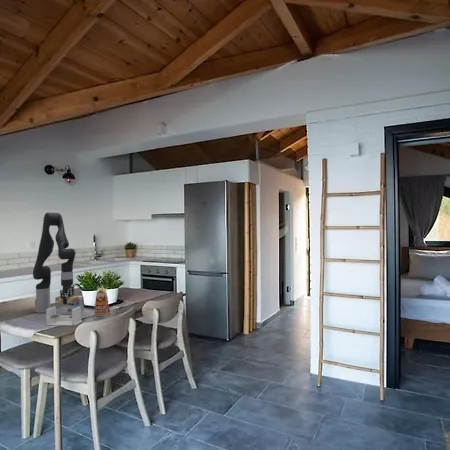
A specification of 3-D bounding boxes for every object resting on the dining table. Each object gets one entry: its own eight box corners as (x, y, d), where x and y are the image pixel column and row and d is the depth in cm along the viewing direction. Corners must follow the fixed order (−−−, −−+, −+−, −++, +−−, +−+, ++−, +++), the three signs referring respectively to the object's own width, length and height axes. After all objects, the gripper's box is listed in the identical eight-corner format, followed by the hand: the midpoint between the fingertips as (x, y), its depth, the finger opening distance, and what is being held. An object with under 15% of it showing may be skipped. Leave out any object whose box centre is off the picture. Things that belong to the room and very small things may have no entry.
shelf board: (55, 302, 237) (55, 297, 237) (59, 300, 242) (59, 296, 242) (75, 302, 235) (75, 298, 235) (79, 301, 240) (79, 296, 240)
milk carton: (97, 312, 254) (96, 285, 254) (110, 312, 255) (109, 284, 254) (93, 316, 245) (93, 287, 244) (107, 315, 245) (106, 287, 245)
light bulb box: (75, 313, 252) (75, 298, 252) (66, 313, 253) (66, 298, 253) (84, 310, 262) (83, 295, 262) (76, 309, 264) (75, 295, 264)
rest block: (59, 319, 237) (59, 313, 237) (62, 318, 240) (62, 312, 240) (74, 319, 236) (73, 313, 236) (76, 318, 239) (76, 312, 239)
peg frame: (45, 325, 225) (45, 309, 225) (53, 321, 234) (53, 306, 234) (75, 325, 223) (74, 309, 223) (82, 321, 232) (82, 306, 232)
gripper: (67, 276, 246) (67, 300, 246) (55, 280, 231) (55, 305, 232) (77, 276, 245) (78, 300, 245) (66, 280, 230) (66, 306, 231)
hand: (67, 303), depth 238 cm, fingers closed on shelf board, 5 cm apart
